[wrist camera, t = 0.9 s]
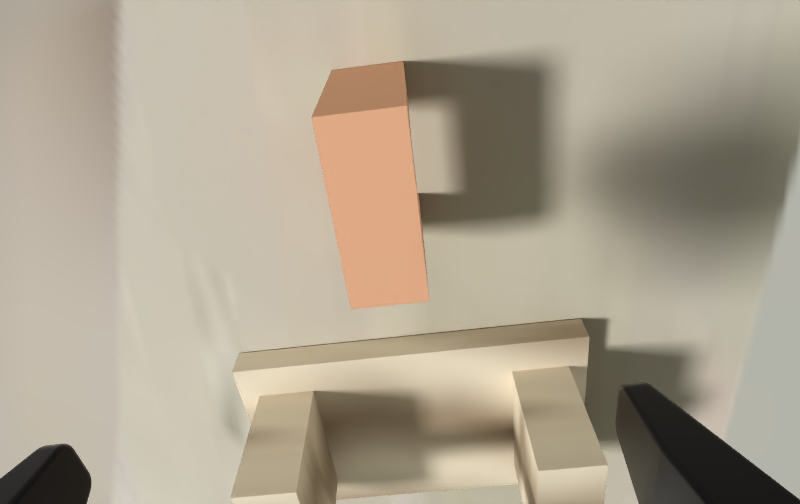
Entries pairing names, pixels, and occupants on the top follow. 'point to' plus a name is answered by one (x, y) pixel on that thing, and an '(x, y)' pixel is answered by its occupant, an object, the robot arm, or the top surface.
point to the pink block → (372, 184)
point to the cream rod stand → (422, 417)
